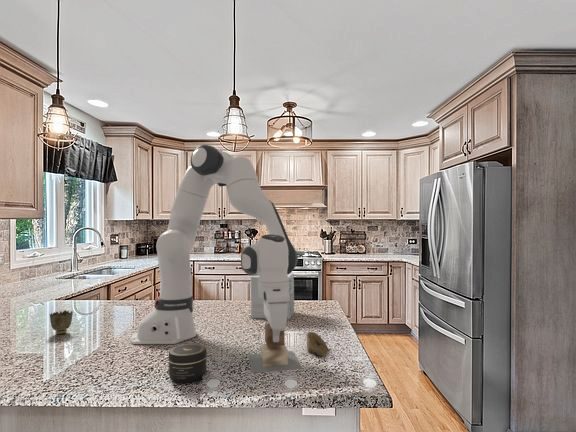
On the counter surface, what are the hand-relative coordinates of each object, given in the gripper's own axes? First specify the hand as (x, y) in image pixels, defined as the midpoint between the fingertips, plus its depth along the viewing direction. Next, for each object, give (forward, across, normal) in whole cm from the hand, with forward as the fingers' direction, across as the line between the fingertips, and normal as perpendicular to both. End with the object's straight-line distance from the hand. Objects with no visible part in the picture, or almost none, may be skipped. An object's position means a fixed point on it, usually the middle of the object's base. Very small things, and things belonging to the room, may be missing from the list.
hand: (274, 337), depth 109 cm
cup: (+8, -46, -74) cm, 88 cm away
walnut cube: (+2, 0, 0) cm, 2 cm away
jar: (+8, +4, -24) cm, 26 cm away
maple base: (+7, 0, 0) cm, 7 cm away
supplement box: (+8, -56, +8) cm, 57 cm away
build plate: (+8, 0, 0) cm, 8 cm away
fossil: (+8, -5, +14) cm, 17 cm away
